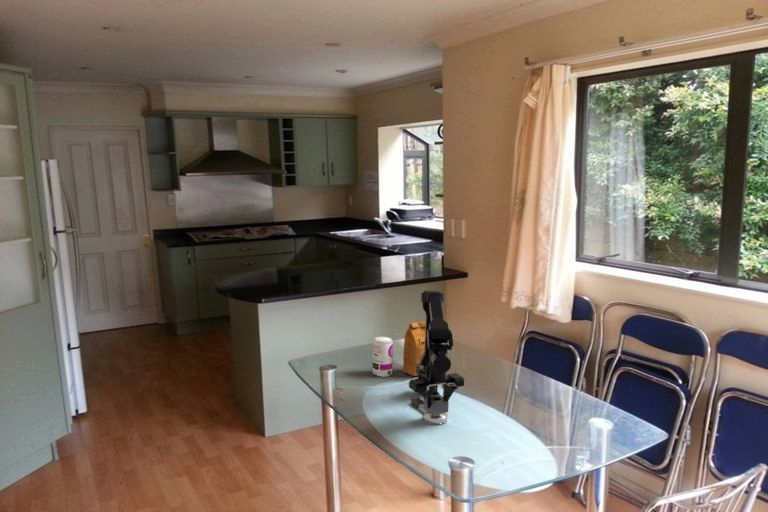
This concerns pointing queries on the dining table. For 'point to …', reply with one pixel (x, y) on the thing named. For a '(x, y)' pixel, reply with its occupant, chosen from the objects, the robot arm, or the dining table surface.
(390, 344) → the supplement can
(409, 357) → the coffee package
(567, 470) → the dining table surface
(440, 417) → the ratchet
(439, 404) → the socket
